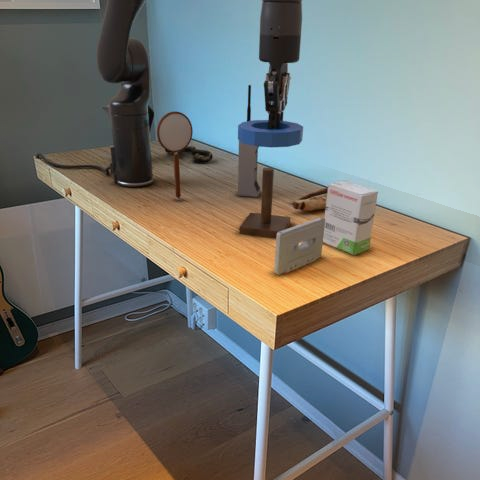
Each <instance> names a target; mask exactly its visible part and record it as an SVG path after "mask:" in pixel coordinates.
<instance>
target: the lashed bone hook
mask: <svg viewBox="0 0 480 480" xmlns="http://www.w3.org/2000/svg"><path fill="white" fill-rule="evenodd" d="M327 192H328V187H325V188H321V189H317V190H314V191H311V192H308V193H306V194H304V195H302V196H301V197H299V198H297V199H296V200H294V201H293V202H292V208H293V209H294V210H300V211H304V212H309V211H319V210H326V201H327Z"/></svg>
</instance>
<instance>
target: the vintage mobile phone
mask: <svg viewBox="0 0 480 480" xmlns="http://www.w3.org/2000/svg"><path fill="white" fill-rule="evenodd" d="M251 96H252V84H248V85H247V108H246V122H247V121H252V120H251V117H252V106H251V101H252V99H251V98H252V97H251ZM259 149H260V147H259V146H252V145H248V144H244V143H242V142H240V141H239V140H238V156H237V157H238V160H237V161H238V164H237V166H238V167H237V195H238V197H249V198H258V196H259V195H260V194H261V193H260V192H261V187H260V185H259V182H258V156H259Z"/></svg>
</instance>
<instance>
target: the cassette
mask: <svg viewBox="0 0 480 480" xmlns="http://www.w3.org/2000/svg"><path fill="white" fill-rule="evenodd" d="M324 228H325V217H322V216H320V217H317V218H315V219H314V218H313V219H311V220H309V221H306V222H302V223H300V224H298V225H294V226H292V227H288V228H287V229H286V230H283V231H280V232H278V233H277V235H276V238H275V251H274V252H275V254H274V255H275V256H274V269H273V270H274V271H273V272H274V274H276V275H277V276H278V275H279V276H280V275H282V274H284V273H285V274H287V273H289V272H292V271H294V270H296V269H299V268H301V267H305V266H306V265H308V264H311V263H313V262H316V261H317V259H320V258H321V256H322V252H323V245H324V242H323V236H324ZM300 243H301V244H300Z"/></svg>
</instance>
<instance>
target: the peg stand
mask: <svg viewBox="0 0 480 480" xmlns="http://www.w3.org/2000/svg"><path fill="white" fill-rule="evenodd" d="M274 174H275V169H274V168H273V167H263V168H262V178H261V180H262V182H261V199H260V200H261V202H260V203H261V204H260V213H259V212H249V214H248V215H247V216H246V217H245V219H243V221H242V223H241V224H240V225H239V233H238V234H240V235H249V236H255V237H256V236H257V237H264V238H272V239H276V235H277V233H278V232H280V231H283V230H286V229H288V228H290V227H289V226H290V225H291V219H292V218H291V216H284V215H275V214H272V213H273V195H274V194H273V193H274V191H273V190H274V176H275V175H274Z"/></svg>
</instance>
